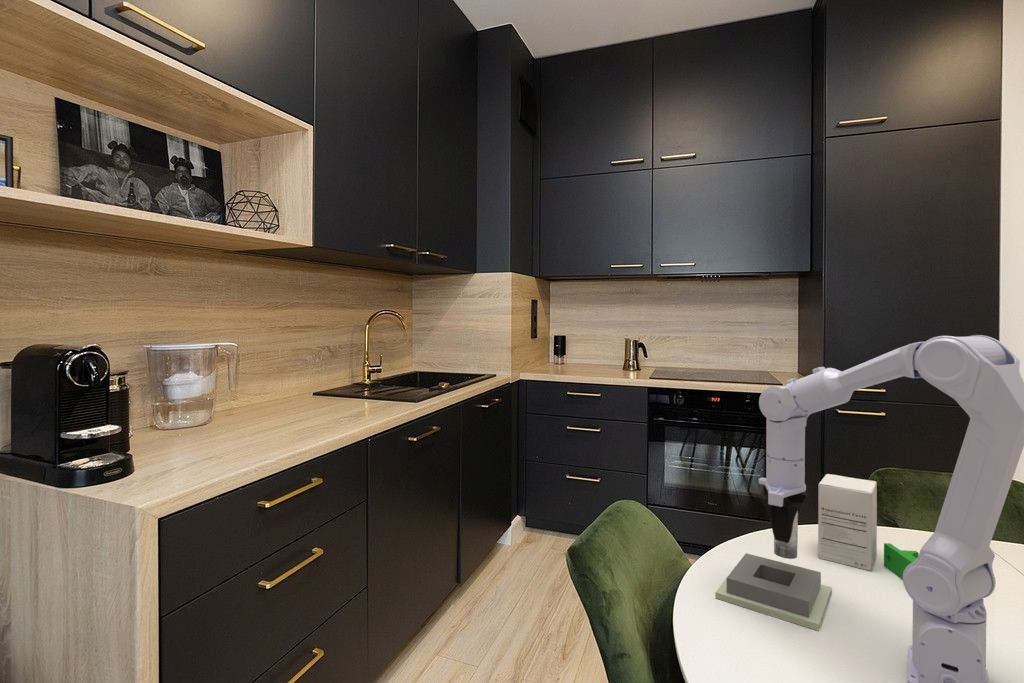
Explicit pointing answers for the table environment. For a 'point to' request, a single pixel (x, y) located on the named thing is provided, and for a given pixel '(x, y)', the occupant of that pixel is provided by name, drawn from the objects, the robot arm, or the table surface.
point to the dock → (777, 590)
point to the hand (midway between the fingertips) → (784, 536)
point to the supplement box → (847, 521)
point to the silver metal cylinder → (788, 548)
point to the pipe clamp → (898, 559)
